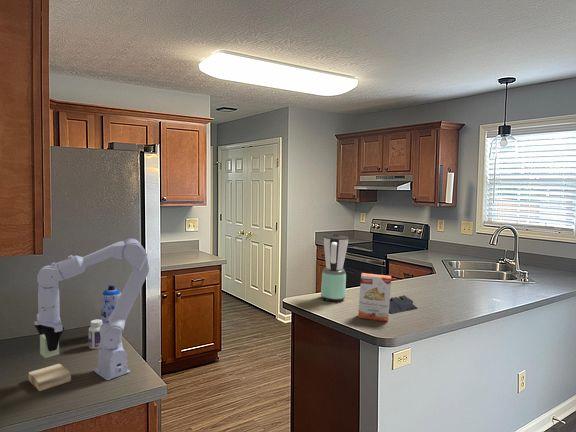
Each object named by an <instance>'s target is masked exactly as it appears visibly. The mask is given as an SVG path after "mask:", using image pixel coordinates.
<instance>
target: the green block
mask: <svg viewBox="0 0 576 432" xmlns="http://www.w3.org/2000/svg"><path fill="white" fill-rule="evenodd" d="M39 355H41V356H42V357H43V358H44V359H48V358H51V357H53V356H57V355H58V356H59V355H60V341H59V342H58V346H57V350H54V351H49V350H48V346H47V340H46V337H45V335H44V334H43V335H39Z"/></svg>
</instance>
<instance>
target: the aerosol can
mask: <svg viewBox="0 0 576 432" xmlns="http://www.w3.org/2000/svg"><path fill="white" fill-rule="evenodd" d="M115 287H116V286H115V285H108V288H107V289H105V290H104V291H103V292H102V293H101V295H100V304H101V305H100V320H102V324H103V323H105V322H106V321H107V319H108V317H109V316H110V315H111V314H112V312H113V310H114V308H115V306H116V304H117V302H118V300H119V298H120V295H121V293H122V291H120V290H119V289H117V288H115Z"/></svg>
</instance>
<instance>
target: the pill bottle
mask: <svg viewBox="0 0 576 432" xmlns="http://www.w3.org/2000/svg"><path fill="white" fill-rule="evenodd" d="M101 325H102V320H101V318H100V319H99V318H98V319H93V320H91V321H90V327H89V328H88V348H89V349H91V350H98V347H99V346H98V345H99V343H100V339H101V337H100V332H99V330H100V327H101Z"/></svg>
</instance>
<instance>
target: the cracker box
mask: <svg viewBox="0 0 576 432" xmlns="http://www.w3.org/2000/svg"><path fill="white" fill-rule="evenodd" d="M391 285H392V276H391V275H387V274H386V275H384V274H376V273H375V274H374V273H365V272H361V276H360V287H359V299H358V301H359V302H358V315H357V318H358V319H365V320H366V319H367V320H373V321H381V322H389V315H390V313H389V303H390V299H391V287H392V286H391Z"/></svg>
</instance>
